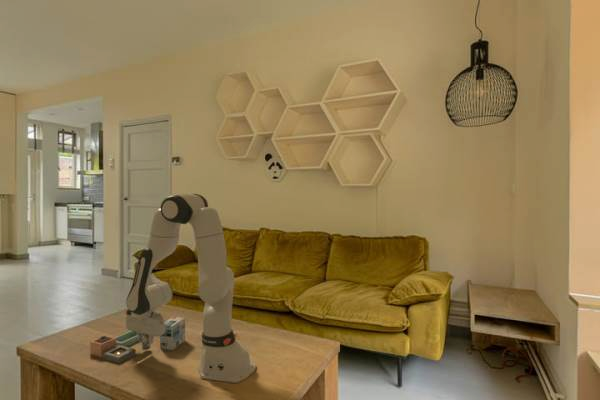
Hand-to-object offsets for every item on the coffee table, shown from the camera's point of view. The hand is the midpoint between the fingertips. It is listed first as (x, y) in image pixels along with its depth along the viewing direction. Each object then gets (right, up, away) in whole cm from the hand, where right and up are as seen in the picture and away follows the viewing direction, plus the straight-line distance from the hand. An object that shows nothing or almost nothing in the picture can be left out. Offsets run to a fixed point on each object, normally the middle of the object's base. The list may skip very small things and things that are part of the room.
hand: (146, 342), depth 144 cm
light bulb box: (+8, -5, +9) cm, 13 cm away
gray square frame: (-9, -5, -5) cm, 11 cm away
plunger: (-9, -3, -5) cm, 11 cm away
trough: (-13, -4, +10) cm, 17 cm away
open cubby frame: (-18, -5, -1) cm, 19 cm away
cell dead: (-18, -4, -1) cm, 18 cm away
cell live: (0, -2, 0) cm, 2 cm away
